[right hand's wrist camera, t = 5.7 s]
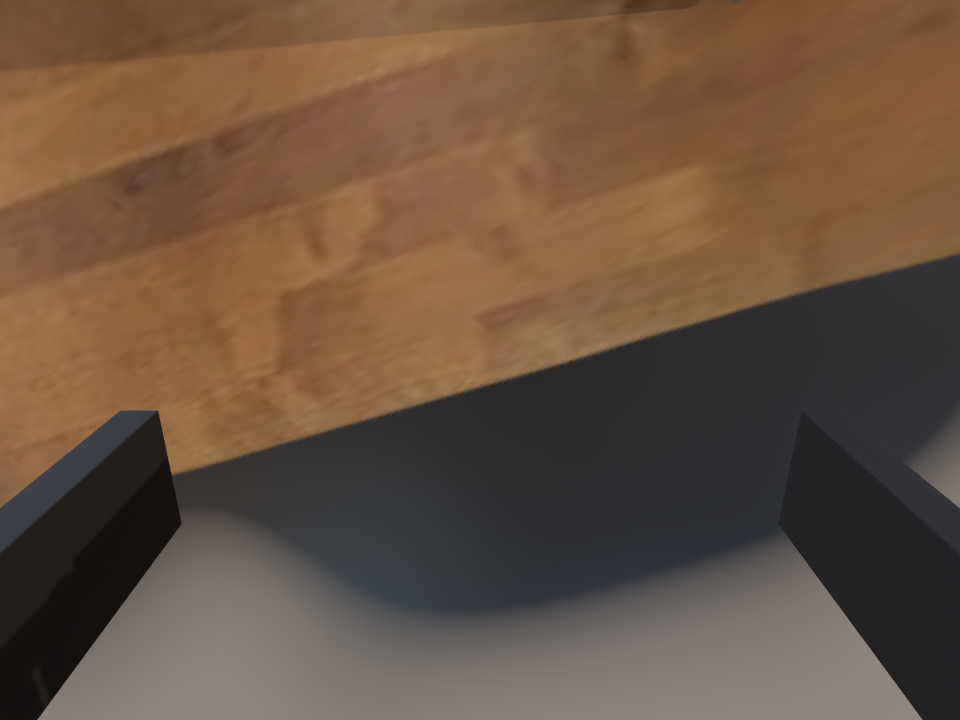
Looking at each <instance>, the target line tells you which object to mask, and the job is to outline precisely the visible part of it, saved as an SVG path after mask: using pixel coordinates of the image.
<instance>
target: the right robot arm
mask: <svg viewBox="0 0 960 720" xmlns="http://www.w3.org/2000/svg"><path fill="white" fill-rule="evenodd" d="M778 524H779V525H780V527H781V528H782V529H783V531H784V532H785V534H786V535H787V536H788V537H789V539H790V540H791V542H792V543H793V544H794V546H795V547H796V548H797V550H798V551H799V553H800V554H801V555H802V557H803V558H804V559H805V561H806V562H807V563H808V565H809V566H810V567H811V569H812V570H813V572H814V573H815V574H816V576H817V577H818V578H819V580H820V581H821V582H822V584H823V585H824V586H825V588H826V589H827V591H828V592H829V593H830V595H831V596H832V597H833V599H834V600H835V601H836V603H837V604H838V605H839V607H840V608H841V610H842V611H843V612H844V614H845V615H846V616H847V618H848V619H849V620H850V622H851V623H852V624H853V626H854V627H855V628H856V630H857V631H858V633H859V634H860V635H861V637H862V638H863V639H864V641H865V642H866V643H867V645H868V646H869V647H870V649H871V650H872V652H873V653H874V654H875V656H876V657H877V658H878V660H879V661H880V662H881V664H882V665H883V666H884V668H885V669H886V671H887V672H888V673H889V675H890V676H891V677H892V679H893V680H894V681H895V683H896V684H897V685H898V687H899V688H900V690H901V691H902V692H903V694H904V695H905V696H906V698H907V699H908V700H909V702H910V703H911V704H912V706H913V707H914V709H915V710H916V711H917V713H918V714H919V715H920V717H921V718H922V719H923V720H960V508H959V507H957V506H956V505H955V504H954V503H952V502H951V501H950V500H949V499H948V498H946V497H945V496H944V495H943V494H941V493H940V492H939V491H938V490H937V489H935V488H934V487H933V486H931V485H930V484H929V483H928V482H927V481H925V480H924V479H923V478H922V477H921V476H919V475H918V474H917V473H916V472H914V471H913V470H912V469H911V468H909V467H908V466H907V465H906V464H904V463H903V462H902V461H901V460H900V459H898V458H897V457H896V456H895V455H893V454H892V453H891V452H890V451H888V450H887V449H886V448H885V447H884V446H882V445H881V444H880V443H879V442H877V441H876V440H875V439H874V438H872V437H871V436H870V435H869V434H867V433H866V432H865V431H864V430H863V429H861V428H860V427H859V426H858V425H856V424H855V423H854V422H853V421H852V420H850V419H849V418H848V417H847V416H845V415H844V414H843V413H842V412H840V411H802V413H801V417H800V422H799V427H798V432H797V437H796V441H795V446H794V451H793V456H792V461H791V466H790V470H789V475H788V480H787V485H786V490H785V495H784V499H783V504H782V509H781V514H780V519H779V523H778ZM180 525H181V519H180V514H179V509H178V504H177V499H176V495H175V490H174V485H173V480H172V475H171V470H170V466H169V461H168V456H167V451H166V446H165V441H164V437H163V432H162V427H161V422H160V417H159V413H158V411H120V412H118V413H117V414H116V415H115V416H113V417H112V418H111V419H110V420H108V421H107V422H106V423H105V424H104V425H102V426H101V427H100V428H99V429H97V430H96V431H95V432H94V433H92V434H91V435H90V436H89V437H88V438H86V439H85V440H84V441H83V442H81V443H80V444H79V445H78V446H76V447H75V448H74V449H73V450H72V451H70V452H69V453H68V454H67V455H65V456H64V457H63V458H62V459H60V460H59V461H58V462H57V463H56V464H54V465H53V466H52V467H51V468H49V469H48V470H47V471H46V472H44V473H43V474H42V475H41V476H39V477H38V478H37V479H36V480H35V481H33V482H32V483H31V484H30V485H28V486H27V487H26V488H25V489H23V490H22V491H21V492H20V493H19V494H17V495H16V496H15V497H14V498H12V499H11V500H10V501H9V502H7V503H6V504H5V505H4V506H3V507H1V508H0V720H37V719H38V718H39V717H40V715H41V714H42V713H43V711H44V710H45V708H46V707H47V706H48V704H49V703H50V702H51V700H52V699H53V698H54V696H55V695H56V694H57V692H58V691H59V690H60V688H61V687H62V685H63V684H64V683H65V681H66V680H67V679H68V677H69V676H70V675H71V673H72V672H73V671H74V669H75V668H76V666H77V665H78V664H79V662H80V661H81V660H82V658H83V657H84V656H85V654H86V653H87V651H88V650H89V649H90V647H91V646H92V645H93V643H94V642H95V641H96V639H97V638H98V637H99V635H100V634H101V633H102V631H103V630H104V628H105V627H106V626H107V624H108V623H109V622H110V620H111V619H112V618H113V616H114V615H115V614H116V612H117V611H118V609H119V608H120V607H121V605H122V604H123V603H124V601H125V600H126V599H127V597H128V596H129V595H130V593H131V592H132V591H133V589H134V588H135V586H136V585H137V584H138V582H139V581H140V580H141V578H142V577H143V576H144V574H145V573H146V571H147V570H148V569H149V567H150V566H151V565H152V563H153V562H154V561H155V559H156V558H157V557H158V555H159V554H160V553H161V551H162V550H163V548H164V547H165V546H166V544H167V543H168V542H169V540H170V539H171V538H172V536H173V535H174V533H175V532H176V531H177V529H178V528H179V527H180Z"/></svg>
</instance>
